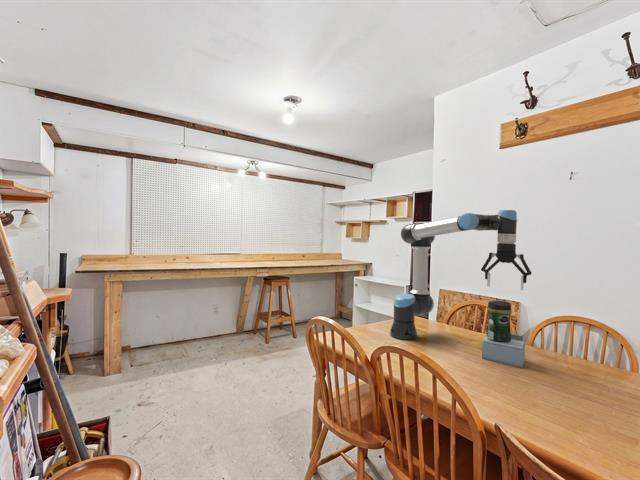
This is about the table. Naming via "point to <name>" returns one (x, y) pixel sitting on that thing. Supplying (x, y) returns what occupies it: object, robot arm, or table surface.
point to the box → (503, 354)
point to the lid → (515, 342)
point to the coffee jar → (499, 321)
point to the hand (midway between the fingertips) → (504, 288)
